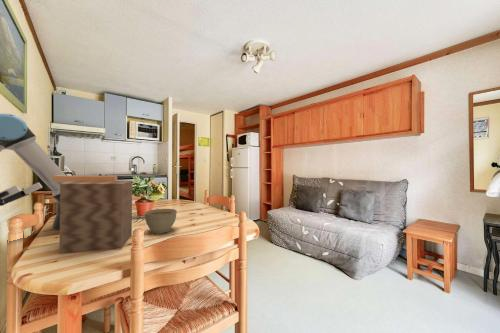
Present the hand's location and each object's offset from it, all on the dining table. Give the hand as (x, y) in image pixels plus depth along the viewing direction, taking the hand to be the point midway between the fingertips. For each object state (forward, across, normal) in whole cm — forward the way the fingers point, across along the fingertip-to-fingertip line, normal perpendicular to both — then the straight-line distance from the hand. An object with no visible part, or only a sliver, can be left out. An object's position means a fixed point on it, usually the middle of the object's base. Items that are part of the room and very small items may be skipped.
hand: (30, 186), depth 93 cm
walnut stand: (+11, +3, -36) cm, 38 cm away
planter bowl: (+33, -9, -48) cm, 59 cm away
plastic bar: (+19, 0, -8) cm, 21 cm away
